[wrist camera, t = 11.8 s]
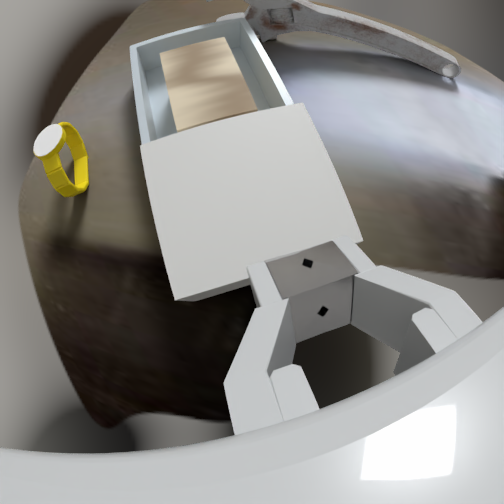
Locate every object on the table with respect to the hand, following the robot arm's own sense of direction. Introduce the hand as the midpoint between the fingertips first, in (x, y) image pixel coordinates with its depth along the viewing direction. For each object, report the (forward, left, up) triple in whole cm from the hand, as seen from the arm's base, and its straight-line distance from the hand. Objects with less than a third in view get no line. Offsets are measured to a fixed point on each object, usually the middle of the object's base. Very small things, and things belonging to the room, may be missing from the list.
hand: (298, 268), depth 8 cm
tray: (0, -16, -12) cm, 20 cm away
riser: (0, -5, -12) cm, 13 cm away
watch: (+12, -14, -12) cm, 22 cm away
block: (0, -10, -9) cm, 13 cm away
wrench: (-17, -21, -12) cm, 30 cm away
